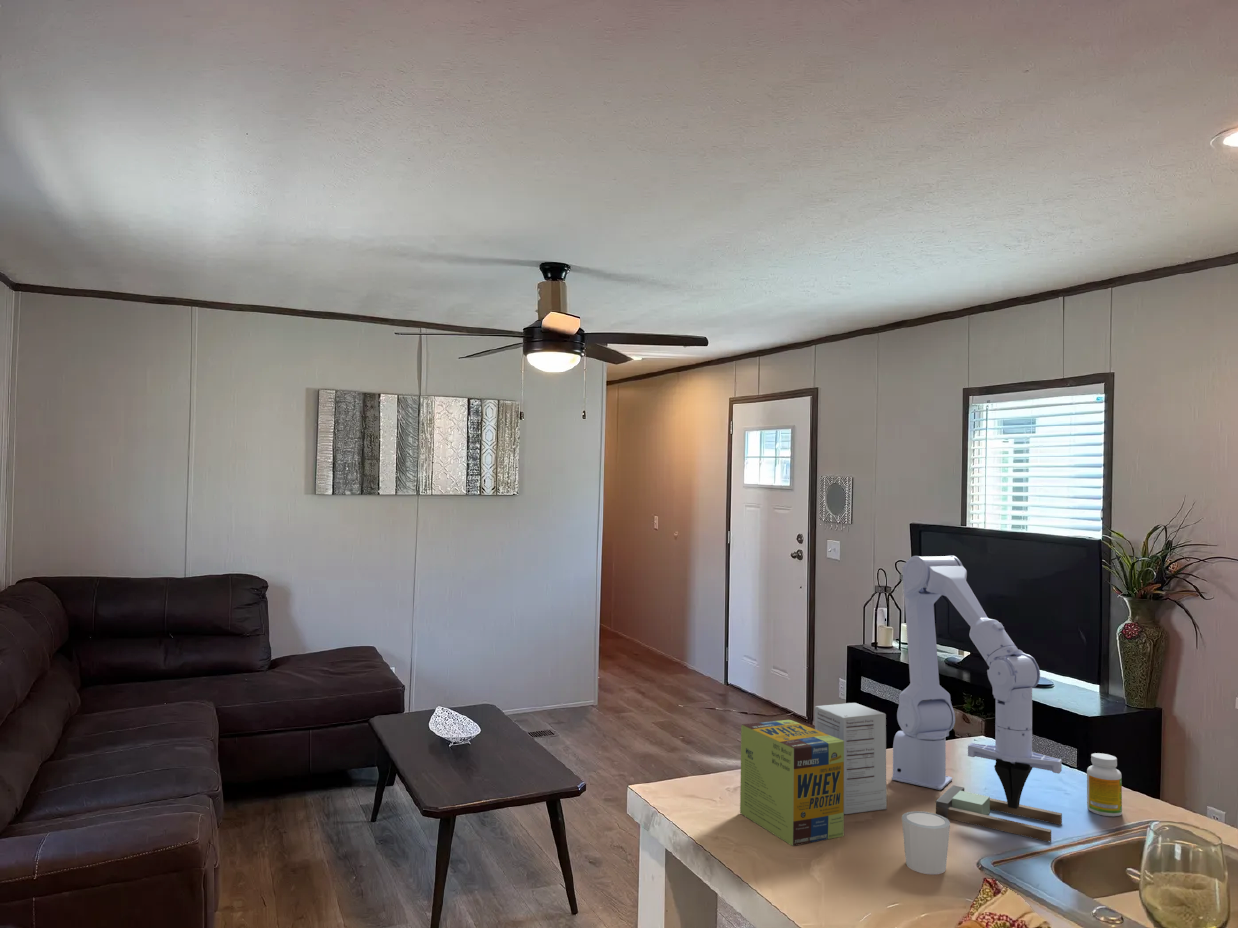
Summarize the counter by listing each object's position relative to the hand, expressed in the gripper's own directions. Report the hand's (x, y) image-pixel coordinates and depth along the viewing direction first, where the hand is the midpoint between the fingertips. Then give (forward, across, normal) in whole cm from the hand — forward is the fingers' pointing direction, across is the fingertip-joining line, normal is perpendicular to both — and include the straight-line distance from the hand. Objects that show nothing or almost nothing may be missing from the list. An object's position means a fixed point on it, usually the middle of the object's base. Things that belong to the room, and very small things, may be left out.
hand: (1013, 806), depth 145 cm
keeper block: (+3, -7, 0) cm, 8 cm away
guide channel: (+3, -2, 0) cm, 4 cm away
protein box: (+3, -29, -25) cm, 39 cm away
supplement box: (+3, -25, -9) cm, 27 cm away
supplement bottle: (+3, +12, +16) cm, 20 cm away
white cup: (+3, -6, -27) cm, 28 cm away
